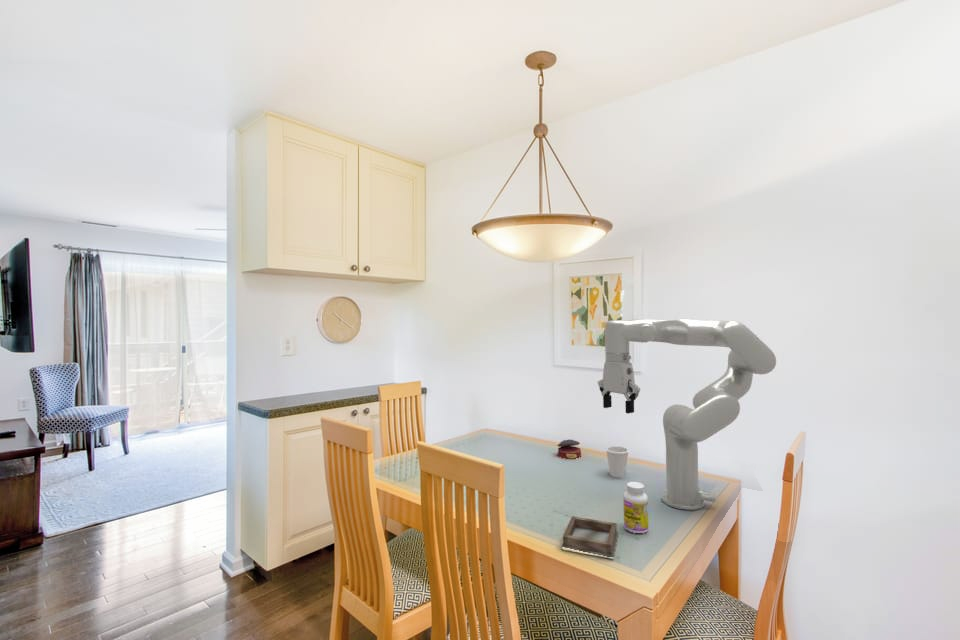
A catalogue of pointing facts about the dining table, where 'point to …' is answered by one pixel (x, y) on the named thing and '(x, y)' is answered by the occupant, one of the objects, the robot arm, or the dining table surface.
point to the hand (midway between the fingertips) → (618, 410)
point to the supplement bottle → (635, 508)
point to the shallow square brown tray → (591, 536)
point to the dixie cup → (617, 460)
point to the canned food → (569, 449)
